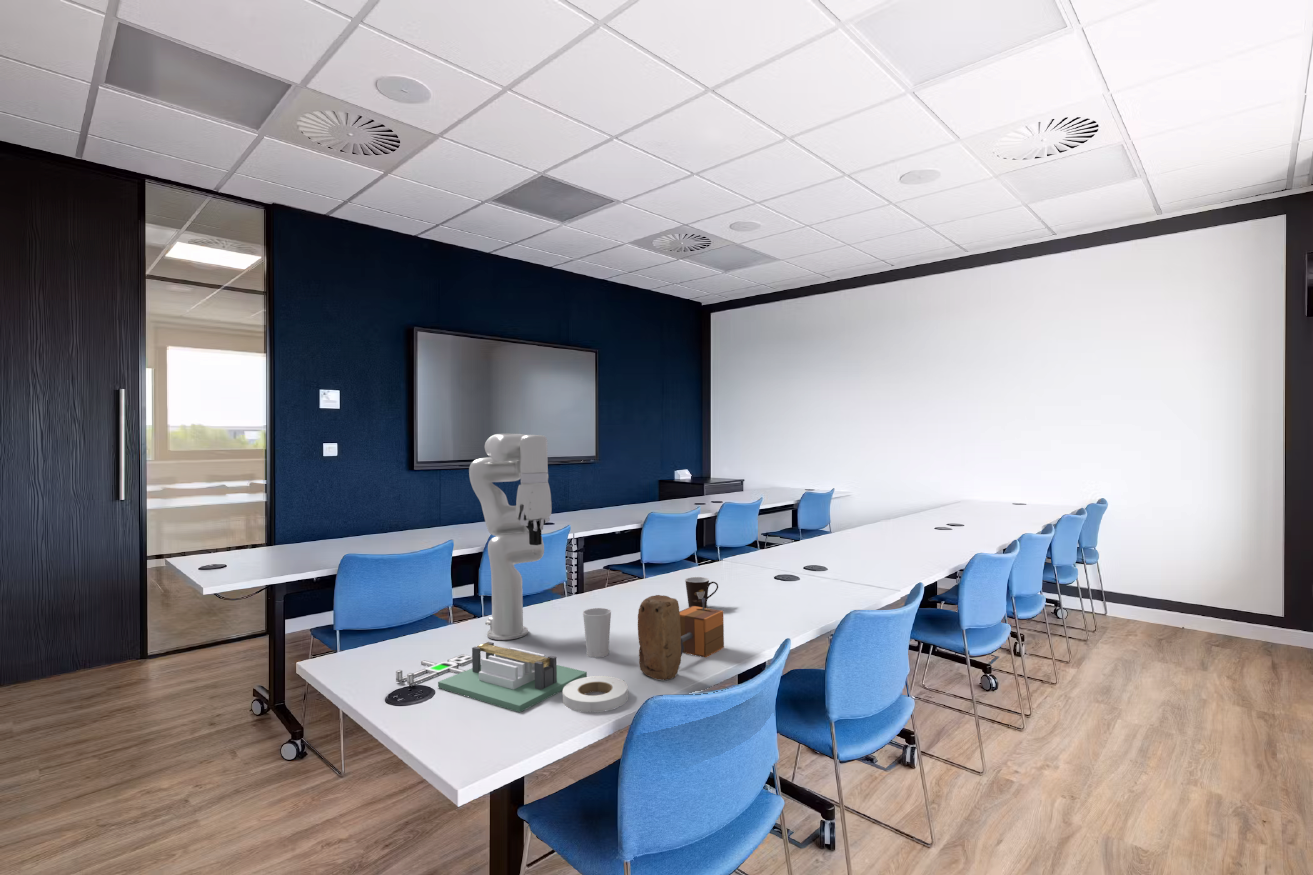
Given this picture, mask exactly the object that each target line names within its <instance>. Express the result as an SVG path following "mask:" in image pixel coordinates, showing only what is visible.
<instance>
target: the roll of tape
mask: <svg viewBox="0 0 1313 875" xmlns="http://www.w3.org/2000/svg"><path fill="white" fill-rule="evenodd" d="M598 692H599V693H601V694H598V695H597V694H596V695H593V694H592V695H589V694H590V693H598ZM628 700H629V686H628V684H627V682H626V681H625V680H623V679H620V678H618V677H614V676H608V675H595V676H594V675H593V676H587V677H584V678H580V679H577V680H574V681H572V682H570V683H568V684H567V685H566V686H565V687H564V688H563V690H562V704H563V705H564V706H565V707H567V708H568V709H569V710H572V711H576V712H580V711H581V712H582V713H599V712H598V711H602V712H606V711H605V710H608V711H611V710H614V708H615V709H617V708H619V706H620V707H622V706H623V705H625V704H626V703H627V702H628Z"/></svg>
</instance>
